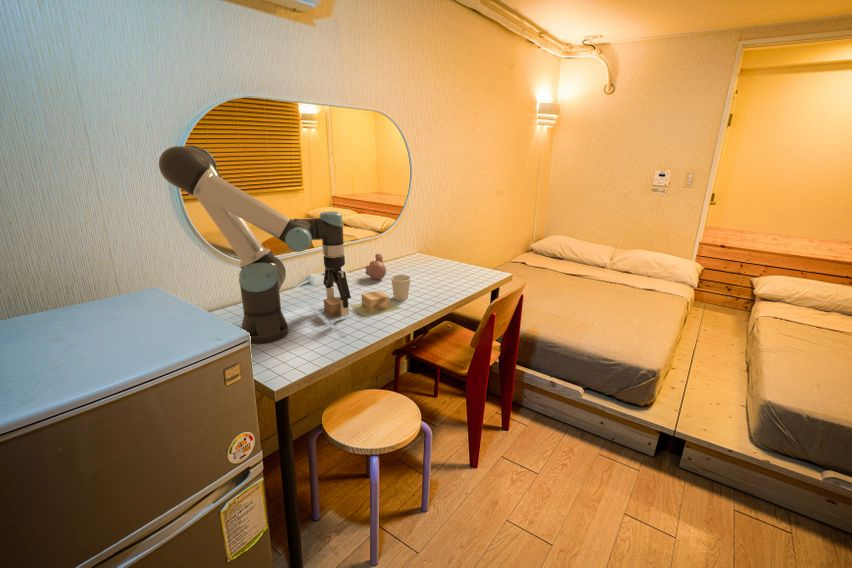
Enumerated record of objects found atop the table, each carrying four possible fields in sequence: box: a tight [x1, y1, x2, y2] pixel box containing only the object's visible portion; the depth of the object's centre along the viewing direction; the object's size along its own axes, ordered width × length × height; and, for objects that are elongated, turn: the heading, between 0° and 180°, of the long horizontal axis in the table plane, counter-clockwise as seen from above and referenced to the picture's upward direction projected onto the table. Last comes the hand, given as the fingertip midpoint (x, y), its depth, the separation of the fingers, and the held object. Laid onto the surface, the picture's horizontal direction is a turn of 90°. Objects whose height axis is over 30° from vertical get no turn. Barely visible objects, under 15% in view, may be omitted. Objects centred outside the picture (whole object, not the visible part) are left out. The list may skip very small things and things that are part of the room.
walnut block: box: [323, 296, 350, 318], centre depth 156 cm, size 7×7×6 cm
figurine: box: [364, 253, 387, 281], centre depth 198 cm, size 9×11×12 cm
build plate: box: [349, 300, 402, 318], centre depth 163 cm, size 16×13×1 cm
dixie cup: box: [390, 274, 412, 301], centre depth 172 cm, size 8×8×10 cm
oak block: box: [361, 290, 390, 312], centre depth 162 cm, size 8×8×5 cm
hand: (337, 309), depth 156 cm, fingers open, 13 cm apart
